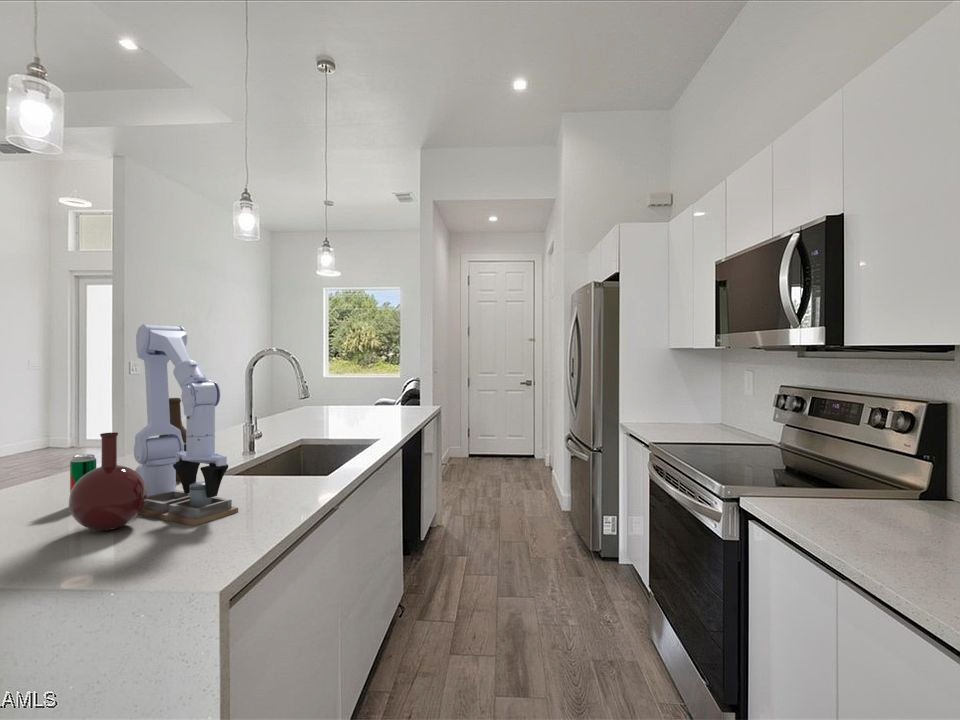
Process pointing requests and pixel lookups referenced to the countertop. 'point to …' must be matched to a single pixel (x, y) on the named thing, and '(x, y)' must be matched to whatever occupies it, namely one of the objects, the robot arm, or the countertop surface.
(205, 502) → the grey plastic cylinder
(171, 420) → the beer bottle
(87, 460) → the soda can
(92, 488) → the round-bottom flask
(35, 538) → the countertop surface
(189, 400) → the robot arm
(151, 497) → the caddy
